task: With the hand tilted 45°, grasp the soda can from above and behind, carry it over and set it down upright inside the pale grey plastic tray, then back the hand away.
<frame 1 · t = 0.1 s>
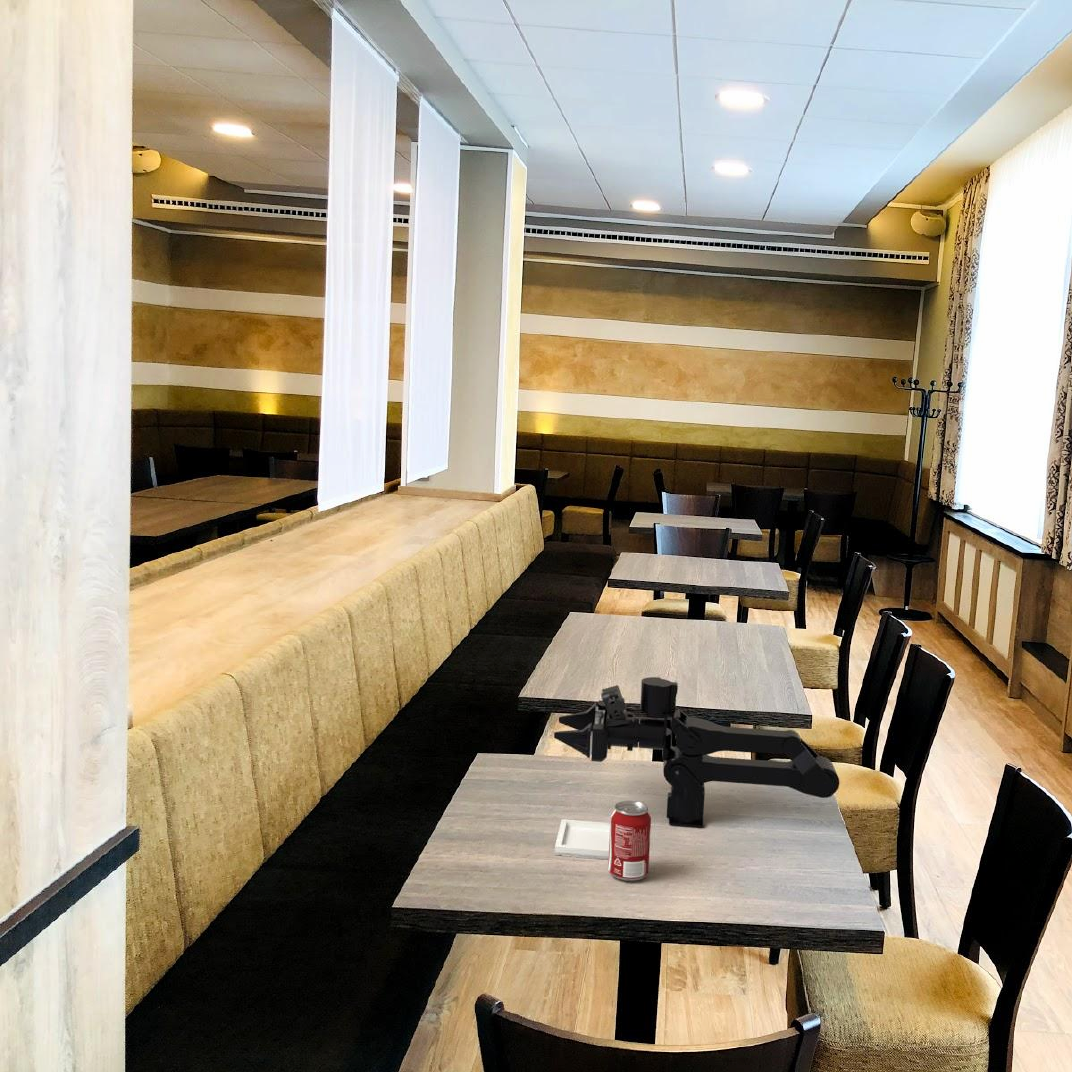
hand: (556, 727, 210), 17 cm above the table, tool horizontal, fingers open, 9 cm apart
soda can: (627, 875, 186), on the table
tray: (591, 843, 198), on the table
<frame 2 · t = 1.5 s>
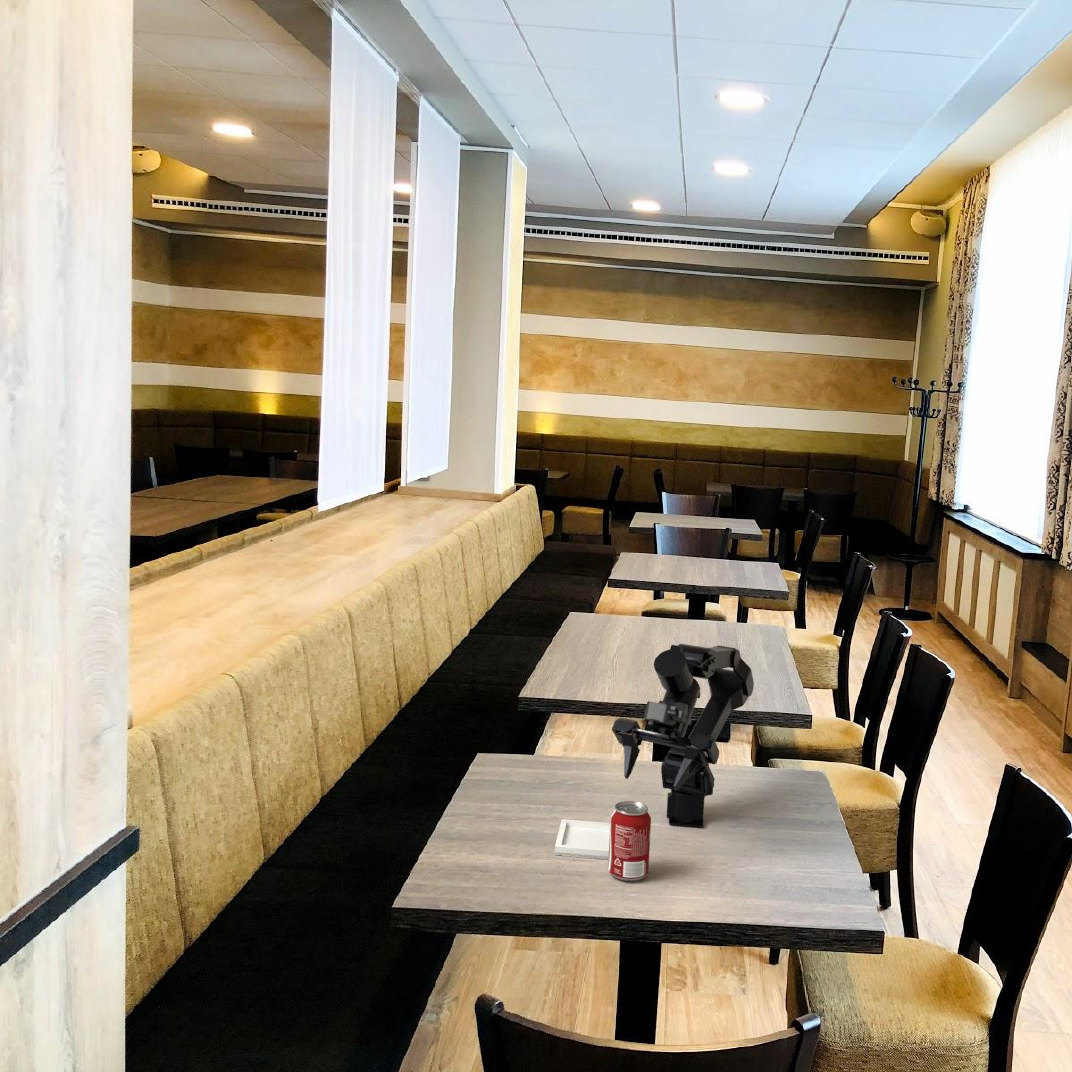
hand: (650, 783, 191), 14 cm above the table, tool tilted 45°, fingers open, 9 cm apart
nothing on the table moved.
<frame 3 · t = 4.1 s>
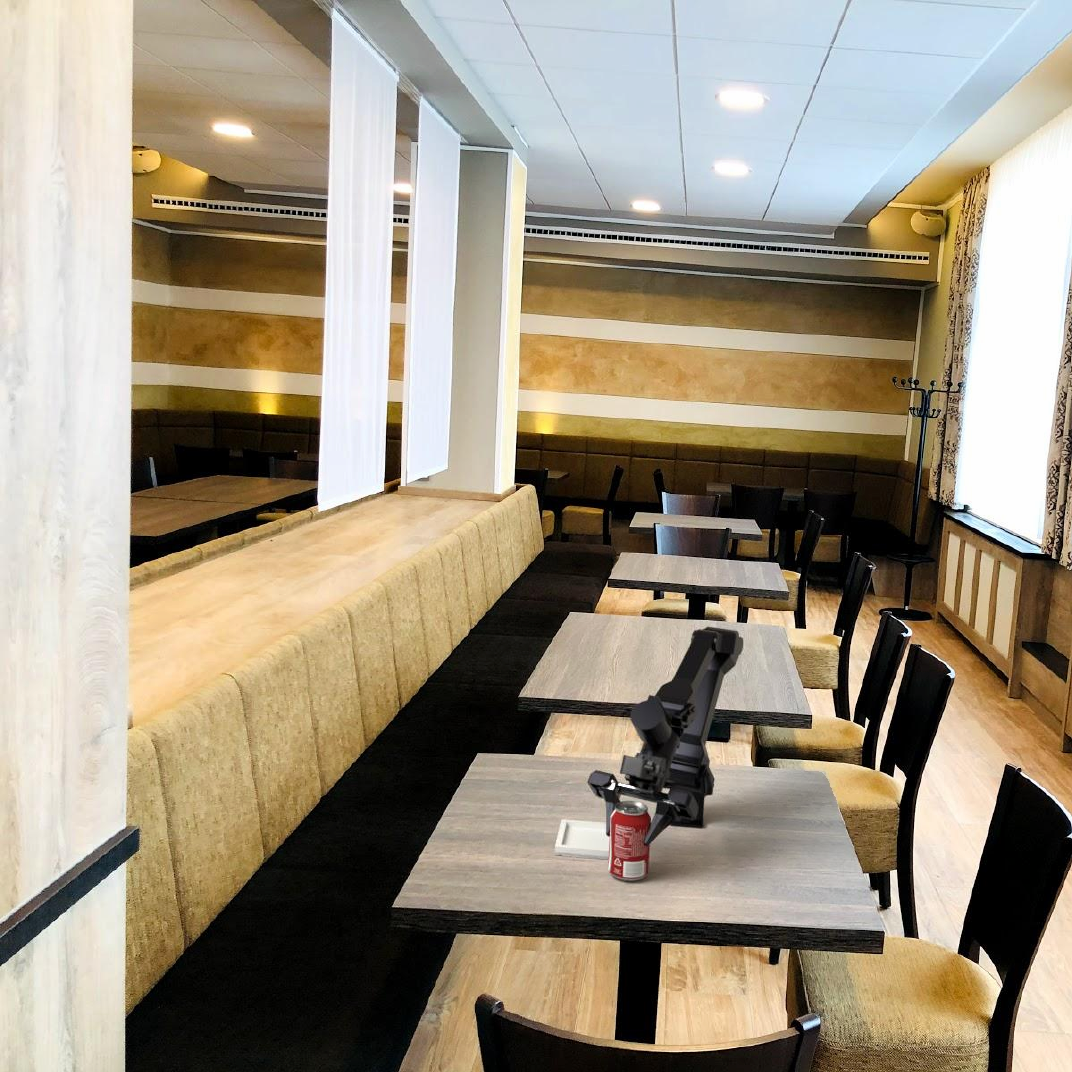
hand: (626, 840, 184), 7 cm above the table, tool tilted 45°, fingers closed on soda can, 6 cm apart
soda can: (627, 875, 186), on the table, touching gripper
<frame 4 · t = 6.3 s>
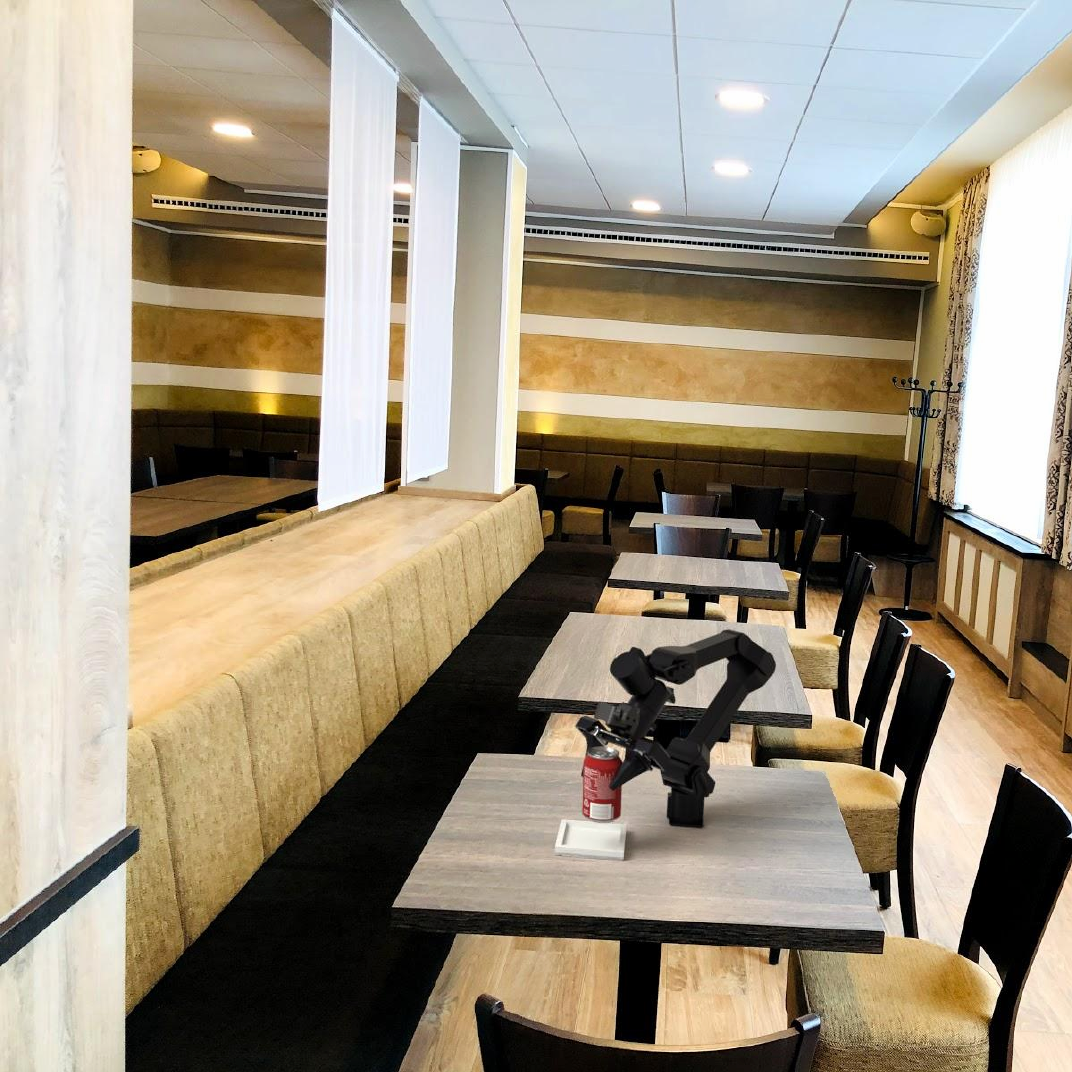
hand: (596, 783, 191), 13 cm above the table, tool tilted 45°, fingers closed on soda can, 7 cm apart
soda can: (601, 818, 193), point 6 cm above the table, touching gripper
when the fingers open (8 cm above the table, at t = 8.3 s): soda can drops 1 cm, resting on tray.
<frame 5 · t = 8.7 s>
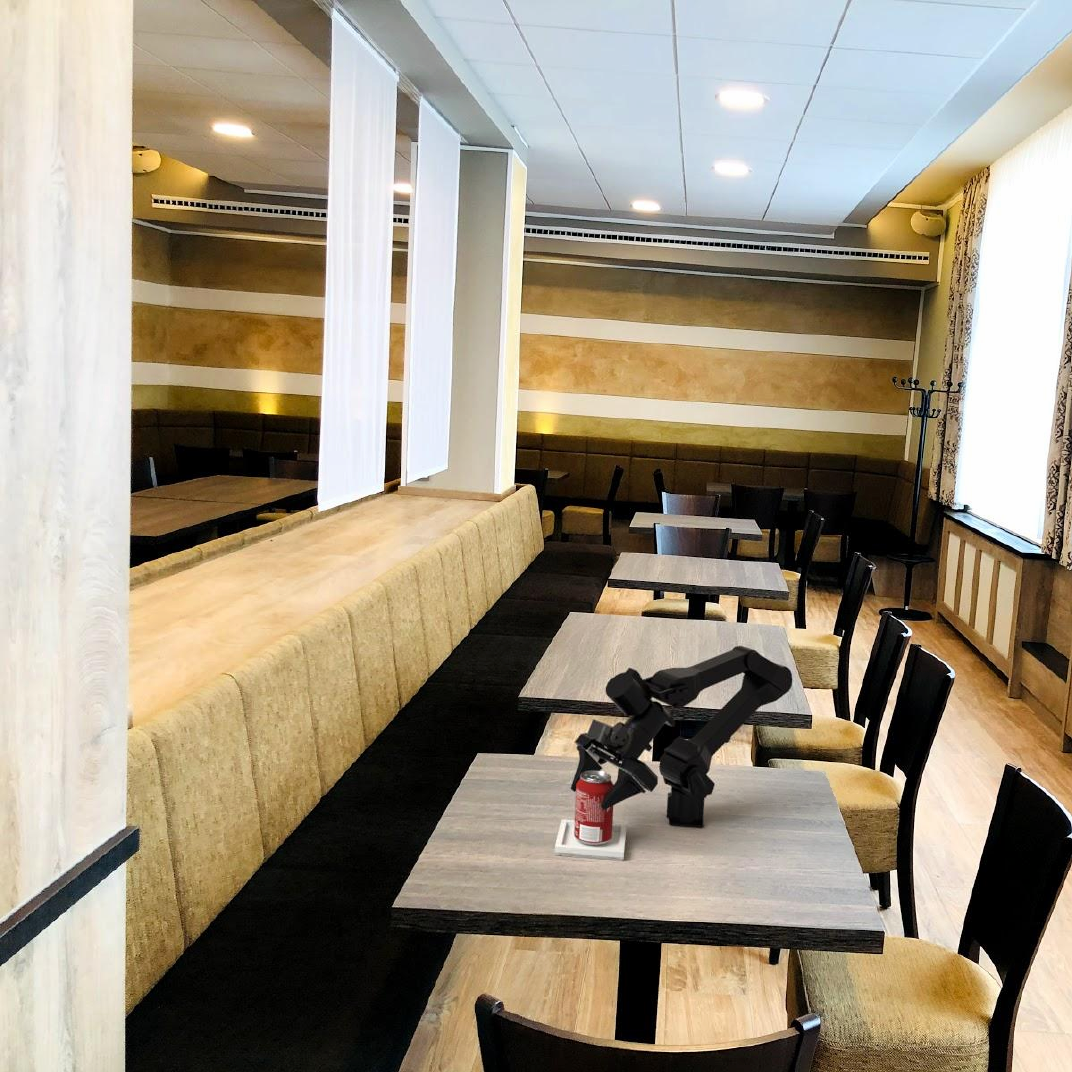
hand: (587, 799, 196), 9 cm above the table, tool tilted 45°, fingers open, 9 cm apart
soda can: (592, 840, 198), resting on tray
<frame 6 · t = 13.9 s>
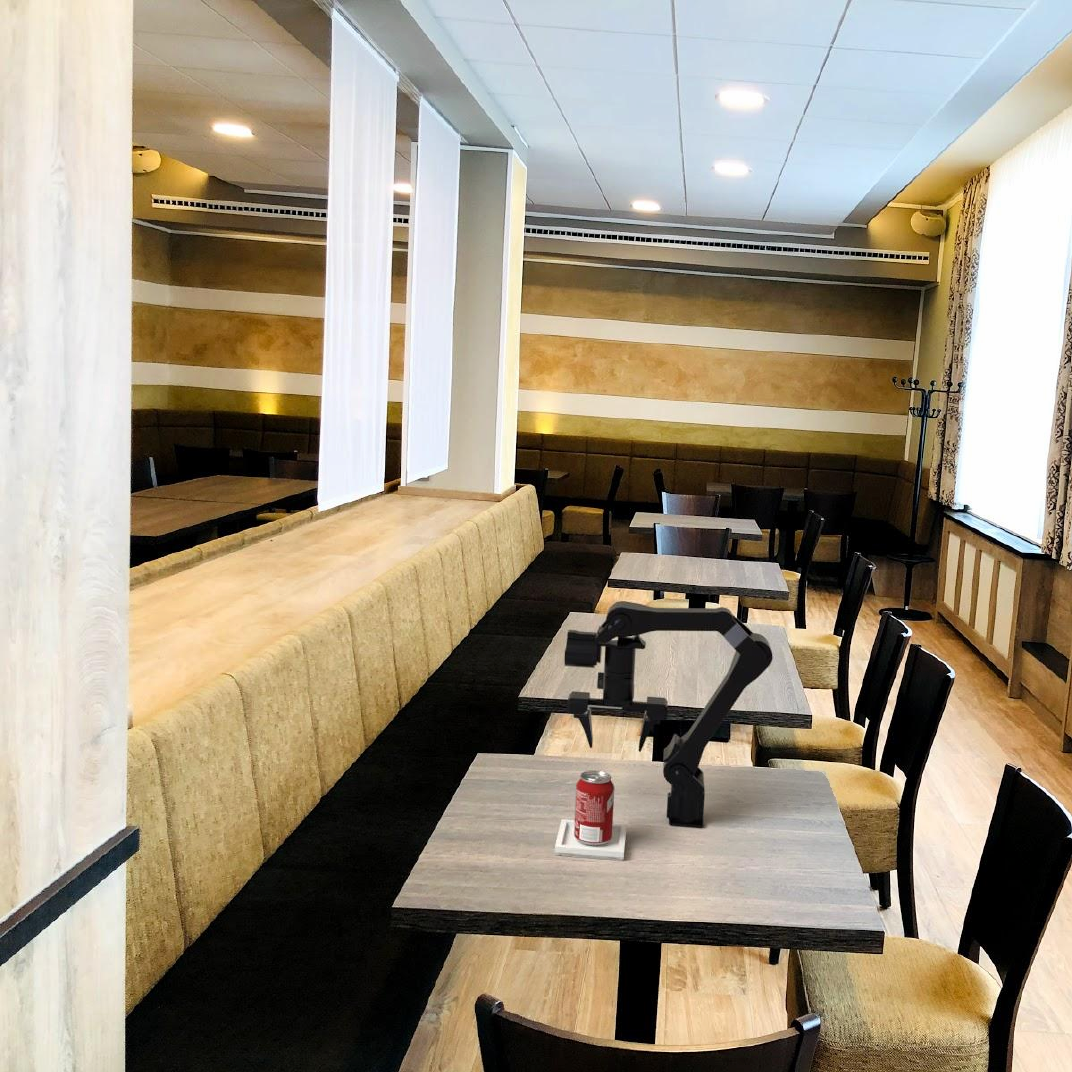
hand: (615, 749, 209), 13 cm above the table, tool pointing down, fingers open, 9 cm apart
nothing on the table moved.
at the end: soda can 0.4 cm off-centre on the tray, point 0.4 cm above the tray's base; soda can tilted 0°; the gripper is holding nothing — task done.
